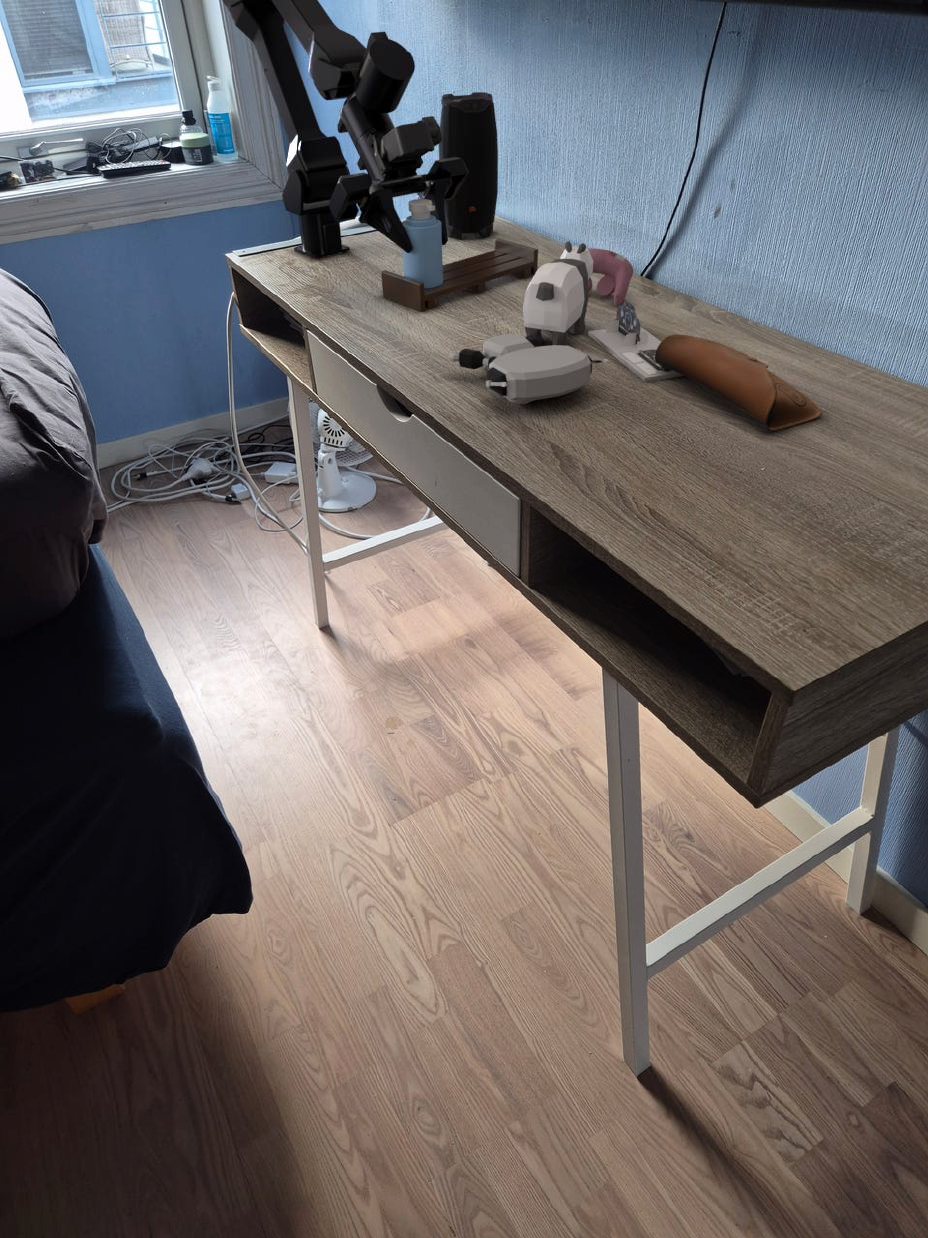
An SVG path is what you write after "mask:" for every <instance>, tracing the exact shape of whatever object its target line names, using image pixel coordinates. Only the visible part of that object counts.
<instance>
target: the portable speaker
mask: <svg viewBox="0 0 928 1238" xmlns="http://www.w3.org/2000/svg"><path fill="white" fill-rule="evenodd" d="M440 101H441V102H440V103H441V112H440V121H439V127H440V130H441V134H442V141H441V143H439V144H438V160H441V159H447V158H453V157H458V158H461V159H462V160H463V162H464V164H465V166H466V168H467V170H468V172H469V174H468V176H467V177H466V179H465V181H464V182H463V184H462V185H461V187H460V189H459V190H458V192H457V193H456V195H455V197H454V198H453V199H451V200H449V201H446V202H444V209H445V219H446V228H447V237H451V238H455V239H462V236H463V235H467V234H468V235H470V234H477V236H479V238H485V237H490V236H491V235H492V234H493V232H494V223H495V219H496V211H497V201H498V194H499V183H498V182H499V146H498V145H499V143H498V127H497V120H496V118H497V117H496V110H495V102H494V99H493V95H492V93H489V92H486V91H473V92H472V93H470V94H461V95H460V94H459V95H454V94H453V93H446V94H442V96H441V100H440Z"/></svg>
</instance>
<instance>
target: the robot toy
mask: <svg viewBox="0 0 928 1238" xmlns="http://www.w3.org/2000/svg"><path fill="white" fill-rule="evenodd" d="M482 342H483V345H482V350H483V351H482V352H481V350H476V349H471V348H464V349H461V350H457V351H455V352H453V353H450V354H449V356H448V358H449V360H450V362H454V363H457V362H458V364H459V367H460V368H465V369H470V370H477V369H480V368H482V367H483V368H484V369H485V370H486V380H485V386H486V388H489V389H490V390H492V391H493V392H495V393H496V394H498V395H499V396H502V397H504V398H506V399H507V400H508V401H509V402H511V403H513V404H515V405H527V404H529V403H531V402H533V401H537V400H538V401H539V400H545V399H550V398H557V397H561V396H565V395H567V394H570V393H573V392H576V391H579V390H581V389H582V388H584V387H585V386H586V385H587V384H588V383H589V382H590V381H591V374H593V364H603V365H604V364H605V365H606V364H609V359H608V358H605V359H592V358H591V357H590V355H588V354H587V353H585V352H582V351H580V350H579V349H576V348H574V347H572V346H570V345H568V346H561V345H552V344H551V345H542V344H543V343H542V344H541V340H540V337H539V336H537V335H529V336H527V335H526V336H525V337H524V336H523V335H522V334H520V333H504V334H499V335H496V336H495V335H494V336H492V337H490V338H486V339H483V340H482Z"/></svg>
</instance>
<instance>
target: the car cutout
mask: <svg viewBox="0 0 928 1238" xmlns="http://www.w3.org/2000/svg"><path fill="white" fill-rule="evenodd" d="M587 335H588V336H589V337H590V338H592V339H593V340H594V341H595V342H596V343H597V344H599V345H600V346H601V347H602V348H603V349H604V350H605V351H607V352H608V353H610V355H612V356H613V357H614V358H615V359H617V360H618V361H619V362H620V363H622V364H623V365H624V366H625V367H626V368H627V369H629V371H631V372H632V373H633V374H635V376H638V378H640V380H642V381H643V382H644V383H646V382H653V381H658V380H659V381H660V380H666V379H672V378H678V377H684V376H683V375H682V374H681V373H677V372H675V371H674V370H671V369H669V368H667V367H665V366H663V365H660V364H658V363H657V362H656V361H655V353H656V350H657V348H658V346H659V344H660V343H661V342H662V341H661V340H660V339H659V338H657V337H656V336H655V335H653V334H652V333H650V332H649V331H648V330H646V329H645V328H643V327H642V326H641V321H640V319H639V317H638V315H637V308H636V307H635V305H634V304H633V303H631V302H629V301H628V300H624V301H623V304H622V305H619V306H617V309H616V318H615V319H614V320H610V321H608V323H607V324H606V328H601V329H595V330H588V331H587Z"/></svg>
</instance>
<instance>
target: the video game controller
mask: <svg viewBox="0 0 928 1238" xmlns="http://www.w3.org/2000/svg"><path fill="white" fill-rule="evenodd" d="M587 249H588V250H589V252H590V255H591V257H592V259H593V273H592V274H601V275H604V276H603V277H601V278H600V279H599V280H598V282H597V284H596V291H597V294H599V295H600V296H601V297H603V298H609V297H612V295H613V302H614V305H615V306H617V307H619V306H621V305H622V303H624V301H625V299H626V297H627V294H628V291H629V288H630V283H631V279H632V277H633V275H634V266H633V264H632V263H631V262H630V261H629V260H628V259H627V258H626V257H624V255H623V254H621V253H617V252H615V251H613V250H609V249H603V248H593V247H592V248H591V247H590V248H587ZM588 285H589V293H590V292H591V291H592V289H593V280H592V277H590V278H589V279H588Z"/></svg>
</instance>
